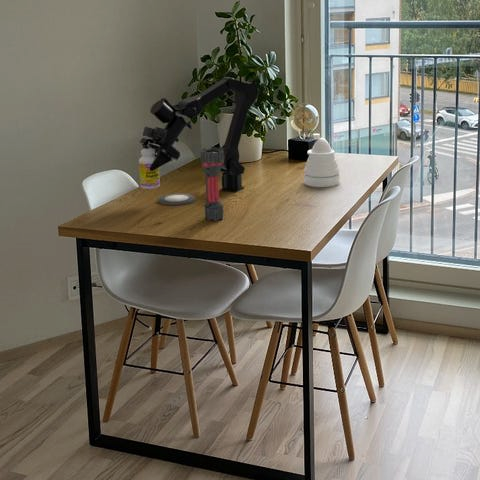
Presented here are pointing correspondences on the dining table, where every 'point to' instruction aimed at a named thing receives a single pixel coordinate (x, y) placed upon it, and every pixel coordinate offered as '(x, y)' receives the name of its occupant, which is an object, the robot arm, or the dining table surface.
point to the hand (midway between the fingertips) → (145, 168)
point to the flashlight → (212, 181)
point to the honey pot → (321, 165)
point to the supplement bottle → (148, 170)
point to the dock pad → (176, 199)
